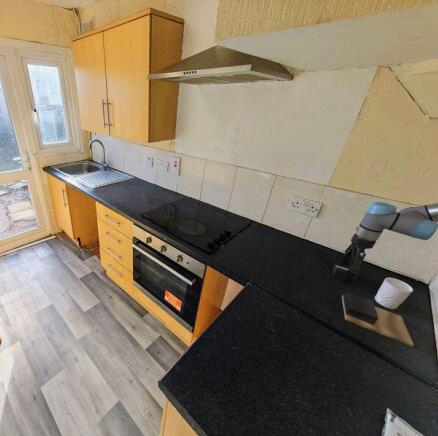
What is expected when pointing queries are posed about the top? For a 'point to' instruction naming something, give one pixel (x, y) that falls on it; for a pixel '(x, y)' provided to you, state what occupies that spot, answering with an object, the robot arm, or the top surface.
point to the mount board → (385, 325)
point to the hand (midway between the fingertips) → (343, 274)
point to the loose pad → (342, 271)
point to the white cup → (393, 293)
